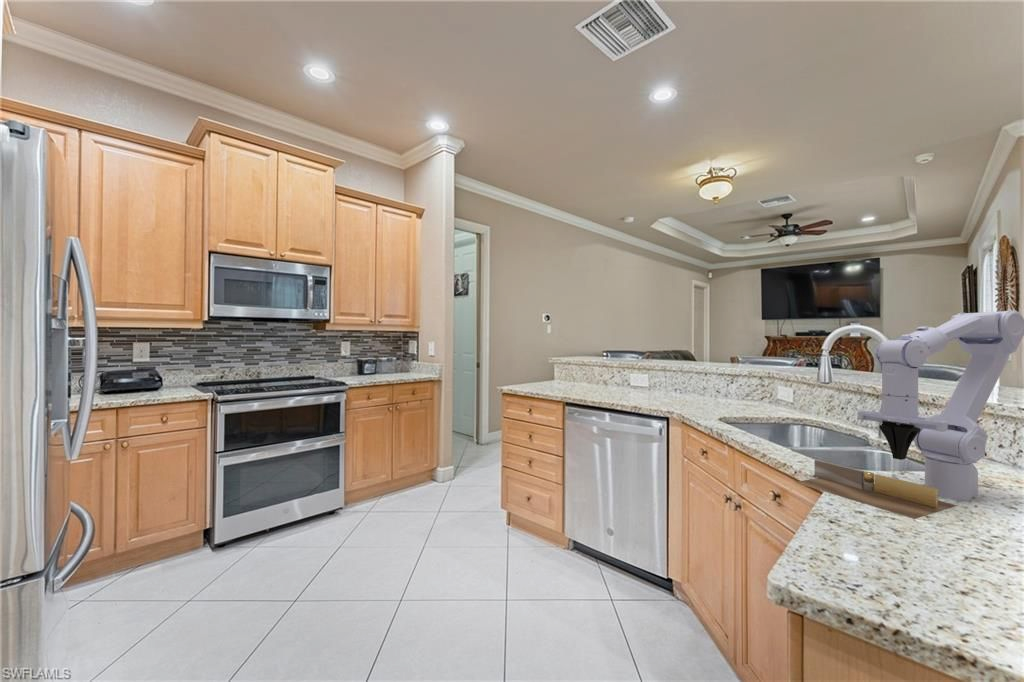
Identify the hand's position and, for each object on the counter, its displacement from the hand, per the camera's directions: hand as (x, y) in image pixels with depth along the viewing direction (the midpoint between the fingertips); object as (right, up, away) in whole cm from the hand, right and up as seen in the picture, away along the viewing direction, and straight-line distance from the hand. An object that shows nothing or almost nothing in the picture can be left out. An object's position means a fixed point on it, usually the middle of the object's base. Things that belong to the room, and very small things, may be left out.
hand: (899, 458), depth 89 cm
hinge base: (-4, -9, +3) cm, 11 cm away
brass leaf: (-1, -8, -1) cm, 8 cm away
